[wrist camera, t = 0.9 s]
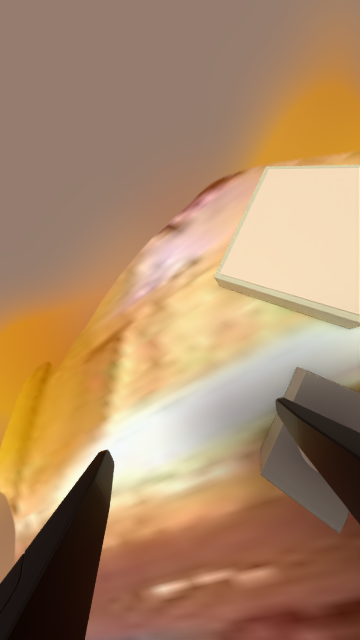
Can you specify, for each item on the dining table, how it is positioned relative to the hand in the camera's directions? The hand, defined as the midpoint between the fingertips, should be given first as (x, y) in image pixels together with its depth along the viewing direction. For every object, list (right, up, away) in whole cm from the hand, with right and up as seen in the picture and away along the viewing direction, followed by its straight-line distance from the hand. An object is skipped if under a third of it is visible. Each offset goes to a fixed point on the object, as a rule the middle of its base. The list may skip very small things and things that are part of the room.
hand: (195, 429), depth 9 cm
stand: (+12, +13, +9) cm, 20 cm away
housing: (+11, -4, +7) cm, 14 cm away
